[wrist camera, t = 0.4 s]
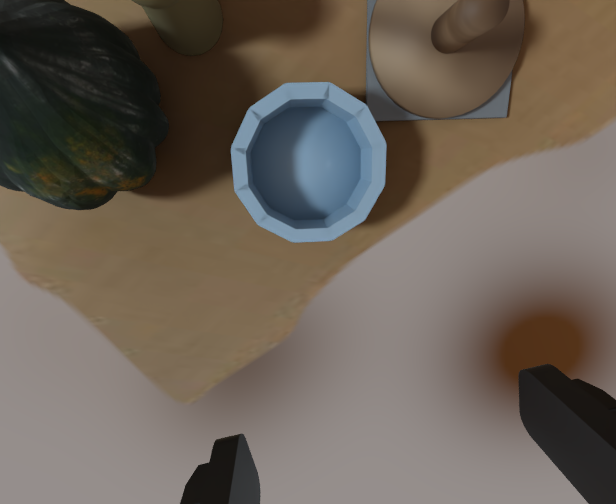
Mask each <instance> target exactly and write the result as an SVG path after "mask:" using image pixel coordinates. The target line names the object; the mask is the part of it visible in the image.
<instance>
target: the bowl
mask: <svg viewBox="0 0 616 504" xmlns="http://www.w3.org/2000/svg"><path fill="white" fill-rule="evenodd" d="M249 108H250V109H248V111H247V113H246V115H245V117H244V120H243V122H242V124H241V126H240V128H239V131H238V133H237V135H236V137H235V139H234V141H233V144H232V146H231V159H232V170H233V181H234V190H236V191H235V192H236V194H237V195H238V197H239V198H240V200H241V201H242V203H243V204H244V206H245V207H246V209H247V210H248V212H249V213H250V214H251V216H252V217H253V219H254V220H255V222H256V223H257V225H259V226H261V227H263V228H265V229H267V230H269V231H271V232H273V233H275V234H277V235H279V236H281V237H283V238H285V239H287V240H289V241H291V242H293V243H295V242H316V241H331V240H334V239H335V238H337V237H338V236H340V235H342V234H343V233H345V232H347V231H348V230H350V229H351V228H353V227H355V226H356V225H358V224H360V223H361V222H363V221H364V220H365V219H366V217H367V216H368V214H369V212H370V211H371V209H372V207H373V205H374V204H375V202H376V200H377V198H378V197H379V195H380V193H381V192H382V190H383V188H384V186H385V174H386V144H385V143H386V141H385V139H384V137H383V135H382V133H381V132H380V130H379V128H378V126H377V124H376V122H375V120H374V118H373V116H372V114H371V112H370V110H369V108H368V106H366V104H364V103H363V102H361V101H360V100H358V99H356V98H355V97H353V96H351V95H350V94H348V93H347V92H345V91H343V90H342V89H340V88H338V87H337V86H335V85H334V84H332V83H329V82H308V83H286V84H283V85H282V86H280V87H279V88H277V89H276V90H275V91H273V92H272V93H270V94H269V95H267V96H266V97H264V98H263V99H261V100H260V101H258V102H257V103H255V104H254V105H252V106H251V107H249Z"/></svg>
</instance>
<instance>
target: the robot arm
mask: <svg viewBox="0 0 616 504" xmlns="http://www.w3.org/2000/svg"><path fill="white" fill-rule="evenodd" d="M519 407H520V416H521V419H522V422H523V424H524V426H525V428H526V430H527V432H528V433H529V435H530V436H531V437H532V438H533V440H534V441H535V442H536V443H537V444H538V445H539V447H540V448H541V449H542V450H543V451H544V452H545V454H546V455H547V456H548V457H549V458H550V459H551V460H552V462H553V463H554V464H555V465H556V466H557V467H558V469H559V470H560V471H561V472H562V473H563V474H564V475H565V476H566V478H567V479H568V480H569V481H570V482H571V484H572V485H573V486H574V487H575V488H576V489H577V491H578V492H579V493H580V494H581V495H582V496H583V497H584V499H585V500H586V501H587V502H588V503H589V504H616V400H615V399H614V398H613V397H611V396H610V395H609V394H607V393H606V392H605V391H603V390H601V389H599V388H597V387H595V386H593V385H591V384H589V383H586V382H584V381H582V380H580V379H574V380H571V379H570V378H568V377H567V376H566V375H565V374H563V373H562V372H561V371H559V370H558V369H557V368H556V367H554V366H553V365H550V364H545V365H541V366H536V367H532V368H528V369H523V370H521V371H520V372H519ZM180 504H260V483H259V477H258V472H257V469H256V467H255V464H254V461H253V458H252V455H251V452H250V450H249V447H248V444H247V441H246V438H245V436H244V435H243V434H238V435H234V436H229V437H225V438H221V439H217V440H216V441H215V443H214V445H213V449H212V454H211V458H210V462H209V463H206V464H202V465H198V467H197V468H196V470H195V471H194V473H193V475H192V476H191V478H190V479H189V481H188V482H187V484H186V486H185V489H184V493H183V496H182V499H181V503H180Z"/></svg>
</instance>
